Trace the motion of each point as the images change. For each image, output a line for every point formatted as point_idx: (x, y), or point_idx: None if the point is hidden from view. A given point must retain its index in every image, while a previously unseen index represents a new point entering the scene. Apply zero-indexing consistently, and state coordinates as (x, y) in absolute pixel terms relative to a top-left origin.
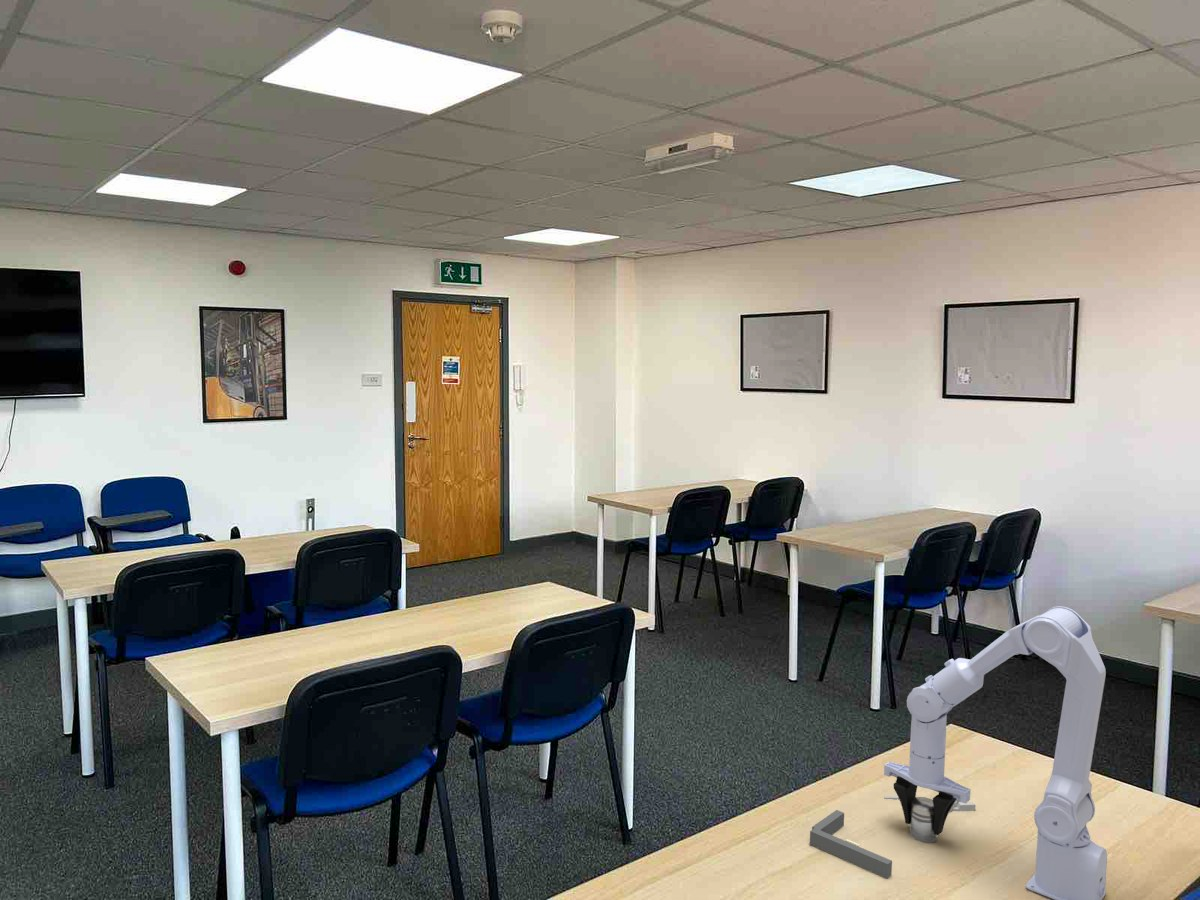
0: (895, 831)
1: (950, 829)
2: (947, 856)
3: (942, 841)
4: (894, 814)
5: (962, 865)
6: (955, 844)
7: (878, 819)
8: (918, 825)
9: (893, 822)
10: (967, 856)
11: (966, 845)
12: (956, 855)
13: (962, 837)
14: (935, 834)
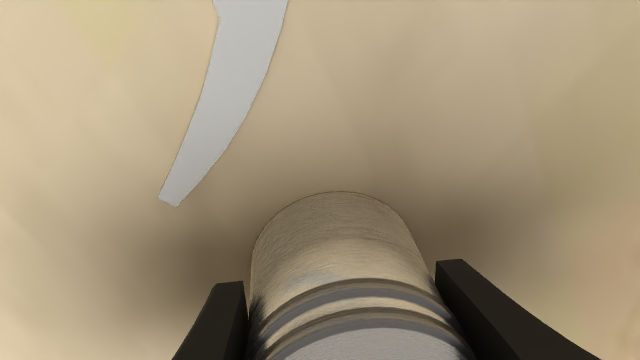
0: None
1: (433, 38)
2: None
3: (447, 230)
4: (23, 165)
5: (602, 347)
6: (522, 201)
7: (22, 303)
8: None
9: (107, 264)
10: (610, 262)
11: (583, 160)
12: (556, 296)
13: (538, 82)
14: None
